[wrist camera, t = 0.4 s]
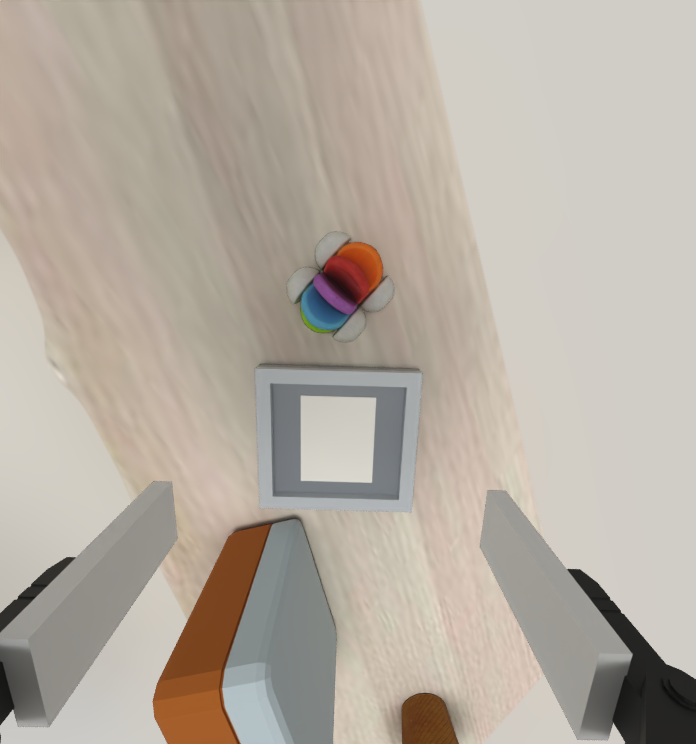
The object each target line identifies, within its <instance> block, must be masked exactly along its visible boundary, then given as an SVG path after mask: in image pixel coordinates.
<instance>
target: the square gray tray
mask: <svg viewBox="0 0 696 744" xmlns="http://www.w3.org/2000/svg"><path fill="white" fill-rule="evenodd" d="M422 377H423V373H422V372H421V371H420V370H419V369H412V368H378V367H343V366H309V365H275V364H260V365H259V366H257V367H256V368H255V390H256V419H257V449H258V479H259V508H270V509H307V510H344V511H381V512H412V499H413V487H414V475H415V463H416V450H417V438H418V426H419V414H420V401H421V389H422Z"/></svg>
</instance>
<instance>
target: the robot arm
mask: <svg viewBox="0 0 696 744" xmlns="http://www.w3.org/2000/svg"><path fill="white" fill-rule="evenodd" d="M177 539H178V536H177V526H176V517H175V507H174V497H173V487H172V482H167V481H153V482H152V483H151V484H150V485H149V486H148V487H147V488H146V489H145V490H144V491H143V492H142V493H141V494H140V495H139V496H138V497H137V498H136V499H135V500H134V501H133V502H132V503H131V504H130V505H129V506H128V507H127V508H126V509H125V510H124V511H123V512H122V513H121V514H120V515H119V516H118V517H117V518H116V519H115V520H114V521H113V522H112V523H111V524H110V525H109V526H108V527H107V528H106V529H105V530H104V531H103V532H102V533H101V534H99V536H98V537H96V538H95V539H94V540H93V541H92V542H91V543H90V544H89V545H88V546H87V547H86V548H85V550H83V551H82V552H81V553H80V554H79V555H78V556H77V557H66V558H65V559H63V560H62V561H60V562H59V563H57V564H55V565H54V566H52V567H51V568H49V569H47V570H46V571H45V572H44V573H43V574H42V575H41V576H40V577H38V578H37V579H36V580H35V581H34V582H33V583H32V584H31V587H28V588H27V589H26V590H25V591H24V592H22V593H21V594H20V595H19V596H18V599H17V600H14V601H13V602H12V603H11V604H10V605H8V606H7V607H6V608H5V609H4V610H3V611H2V612H1V613H0V725H1V724H2V722H3V721H4V720H5V719H6V717H7V716H8V715H9V713H10V712H11V711H12V710H14V714H15V718H16V721H17V725H18V727H50V725H51V724H52V722H53V721H54V719H55V718H56V716H57V715H58V713H59V712H60V710H61V709H62V707H63V706H64V705H65V703H66V702H67V700H68V699H69V697H70V696H71V694H72V693H73V691H74V690H75V688H76V687H77V686H78V684H79V682H80V681H81V680H82V678H83V677H84V675H85V674H86V672H87V671H88V669H89V668H90V666H91V665H92V664H93V662H94V661H95V659H96V658H97V656H98V655H99V653H100V652H101V650H102V649H103V647H104V646H105V644H106V643H107V641H108V640H109V639H110V637H111V636H112V634H113V633H114V631H115V630H116V628H117V627H118V625H119V624H120V622H121V621H122V620H123V618H124V617H125V615H126V614H127V612H128V611H129V609H130V608H131V606H132V605H133V603H134V602H135V601H136V599H137V598H138V596H139V595H140V593H141V592H142V590H143V589H144V587H145V586H146V584H147V583H148V581H149V580H150V579H151V577H152V576H153V574H154V573H155V571H156V570H157V568H158V567H159V565H160V564H161V562H162V561H163V559H164V558H165V557H166V555H167V554H168V552H169V551H170V549H171V548H172V546H173V545H174V543H175V542H176V540H177ZM480 548H481V550H482V552H483V554H484V556H485V558H486V560H487V562H488V564H489V566H490V568H491V570H492V572H493V574H494V576H495V578H496V580H497V582H498V584H499V586H500V588H501V590H502V592H503V594H504V596H505V598H506V600H507V602H508V604H509V605H510V607H511V609H512V611H513V613H514V615H515V617H516V619H517V621H518V623H519V625H520V627H521V629H522V631H523V633H524V635H525V637H526V639H527V641H528V643H529V645H530V647H531V649H532V651H533V653H534V655H535V657H536V659H537V661H538V663H539V665H540V667H541V669H542V671H543V673H544V675H545V677H546V679H547V680H548V682H549V684H550V686H551V688H552V690H553V692H554V694H555V696H556V698H557V700H558V702H559V704H560V706H561V708H562V710H563V712H564V714H565V716H566V718H567V720H568V722H569V724H570V726H571V728H572V730H573V732H574V734H575V736H576V738H577V740H608V739H609V735H610V732H611V728H612V725H613V723H614V724H615V726H616V728H617V729H618V731H619V732H620V734H621V736H622V737H623V739H624V741H625V744H696V679H694V678H693V677H691V676H689V675H688V674H686V673H685V672H683V671H682V670H679V669H677V668H674V667H672V666H669V665H666V664H665V662H664V661H663V660H662V659H661V658H660V657H659V656H658V654H657V653H656V652H655V651H654V649H653V648H652V647H651V646H650V645H649V643H648V642H647V641H646V640H645V639H644V638H643V636H642V635H641V634H640V633H639V632H638V630H637V629H636V628H635V627H634V626H633V625H632V623H631V622H630V621H629V620H628V619H627V617H625V615H624V614H622V613H621V610H620V609H619V608H618V607H617V606H616V605H615V603H614V602H613V601H611V600H610V597H609V596H608V595H607V594H606V593H605V591H604V590H603V589H602V588H601V587H600V586H599V584H598V583H597V582H596V581H594V580H593V579H592V578H590V577H589V576H588V575H587V574H585V573H584V572H583V571H581V570H580V569H566V568H565V567H564V565H563V564H562V562H561V561H560V560H559V559H558V557H557V556H556V555H555V554H554V552H553V551H552V550H551V548H550V547H549V546H548V544H547V543H546V542H545V541H544V539H543V538H542V537H541V535H540V534H539V533H538V532H537V530H536V529H535V528H534V526H533V525H532V524H531V522H530V521H529V520H528V519H527V517H526V516H525V515H524V513H523V512H522V511H521V510H520V508H519V507H518V506H517V504H516V503H515V502H514V501H513V499H512V498H511V497H510V495H509V494H508V493H507V492H506V491H502V490H487V497H486V504H485V511H484V519H483V526H482V533H481V540H480ZM0 742H1V735H0Z"/></svg>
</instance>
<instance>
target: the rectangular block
mask: <svg viewBox="0 0 696 744" xmlns="http://www.w3.org/2000/svg"><path fill="white" fill-rule="evenodd" d="M336 641H337V638H336V630H335V626H334V623H333V619H332V616H331V613H330V610H329V607H328V604H327V601H326V598H325V595H324V592H323V588H322V585H321V582H320V579H319V576H318V573H317V570H316V567H315V563H314V560H313V557H312V554H311V551H310V547H309V544H308V541H307V538H306V535H305V532H304V529H303V527H302V524H301V523H300V521H299V520H297V519H292V520H287V521H282V522H278V523H274V524H269V525H264V526H259V527H255V528H250V529H246V530H241V531H237V532H235V533H233V534H232V535H230V536H229V537H228V539H227V541H226V543H225V545H224V547H223V549H222V551H221V553H220V556H219V558H218V560H217V562H216V564H215V566H214V568H213V570H212V572H211V574H210V576H209V578H208V580H207V582H206V584H205V586H204V588H203V590H202V592H201V595H200V597H199V599H198V601H197V603H196V605H195V607H194V609H193V611H192V613H191V615H190V617H189V619H188V621H187V623H186V626H185V628H184V630H183V632H182V634H181V636H180V638H179V640H178V642H177V644H176V646H175V648H174V650H173V652H172V654H171V656H170V658H169V661H168V662H167V664H166V667H165V669H164V671H163V673H162V675H161V677H160V679H159V681H158V683H157V686H156V690H155V694H154V698H153V707H154V717H155V720H156V722H157V723H158V726H159V727H160V729H161V731H162V733H163V735H164V737H165V739H166V741H167V743H168V744H333V727H334V698H335V672H336Z"/></svg>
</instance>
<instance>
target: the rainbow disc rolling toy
mask: <svg viewBox="0 0 696 744" xmlns="http://www.w3.org/2000/svg"><path fill="white" fill-rule="evenodd" d="M350 240H351V238H350V236H349V235H347V234H345V233H342V232H330V233H328V234H327V235H326V236H325V237H324V238H323V239H322V240H321V241H320V242H319V244H318V245H317V247H316V251H315V257H316V262H317V264H318V266H319V267H320V269H321V270H324V273H321V274H320V271H319V270H317V269H314V268H310V267H305V268H301V269H299V270H297V271H296V272H295V273H294V274H293V275H292V276H291V278H290V279H289V281H288V283H287V295H288V297H289V299H290V301H291V302H292V303H293V304H296V303H298V302H299V301H300V300H301V316H302V319H303V321H304V323H305V325H306V326H307V327H308V328H310V329H311V330H312V331H315V332H318V333H328V332H333V331H335V330H336V329H338V330H337V332H336V333H335V334H334V336H333V338H334V339H335V340H337V341H340V342H351V341H353V340H355V339H356V338H357V337H358V336H359V335H360V333H361V332H362V331H363V330H364V328H365V326H366V317H365V314H364V312H363V310H366V311H370V312H376V311H379V310H381V309H382V308H383V307H384V306H385V305H386V304H387V303H388V302H389V301H390V300H391V299H392V297H393V295H394V284H393V282H392V279H391V278H390V276H386V277H385V278H384V279H383V280H382V281H381V282H380V280H381V278H382V274H383V265H382V261H381V258H380V256H379V254H378V252H377V250H376V249H375V248H373V247H372V246H370V245H368V244H365V243H361V242H354V243H350V244H348V243H349V241H350ZM379 282H380V283H379ZM360 302H361V304H360V306H359V307H358V308H357V306H358V304H359V303H360ZM356 308H357V309H356Z"/></svg>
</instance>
